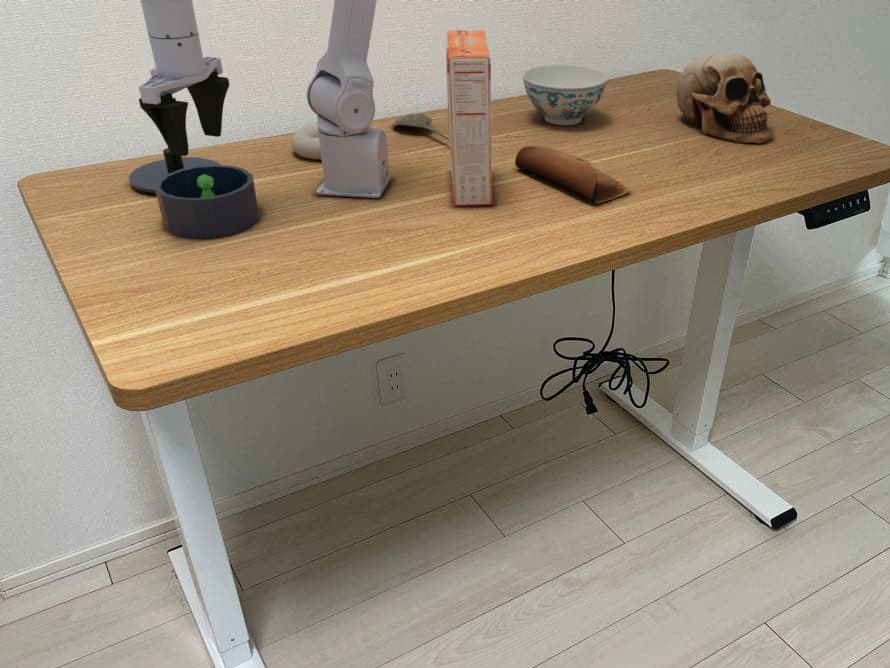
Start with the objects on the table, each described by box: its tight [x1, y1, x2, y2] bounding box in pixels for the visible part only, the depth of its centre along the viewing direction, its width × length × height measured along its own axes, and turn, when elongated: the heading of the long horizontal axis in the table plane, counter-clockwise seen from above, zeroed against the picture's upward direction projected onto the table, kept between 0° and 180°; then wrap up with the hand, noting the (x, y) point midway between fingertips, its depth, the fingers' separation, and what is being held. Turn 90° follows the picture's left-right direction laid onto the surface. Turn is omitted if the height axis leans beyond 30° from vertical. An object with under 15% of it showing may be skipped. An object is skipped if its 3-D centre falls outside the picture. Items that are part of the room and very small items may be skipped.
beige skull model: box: [676, 52, 772, 144], centre depth 150 cm, size 16×17×13 cm
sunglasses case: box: [514, 145, 629, 205], centre depth 129 cm, size 18×7×7 cm
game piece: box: [197, 174, 215, 198], centre depth 114 cm, size 4×4×6 cm
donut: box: [290, 124, 322, 161], centre depth 137 cm, size 10×4×10 cm
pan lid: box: [128, 147, 222, 194], centre depth 126 cm, size 13×13×5 cm
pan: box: [155, 164, 260, 240], centre depth 115 cm, size 12×12×5 cm
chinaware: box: [522, 64, 608, 126], centre depth 152 cm, size 15×15×8 cm
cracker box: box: [445, 29, 493, 207], centre depth 121 cm, size 14×6×21 cm, turn 5°
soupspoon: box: [392, 113, 450, 141], centre depth 143 cm, size 22×3×7 cm
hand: (196, 144), depth 110 cm, fingers open, 7 cm apart
